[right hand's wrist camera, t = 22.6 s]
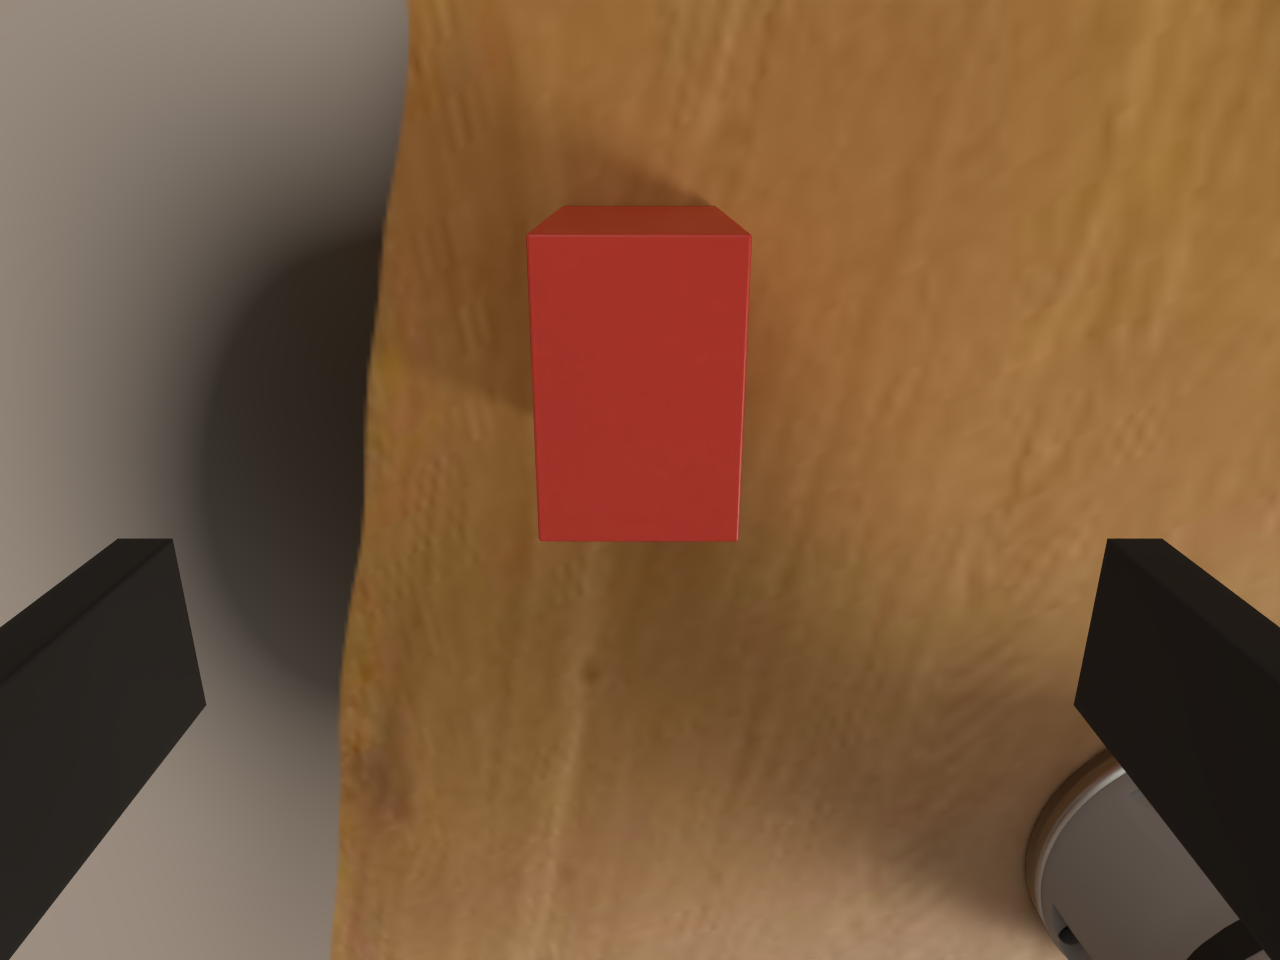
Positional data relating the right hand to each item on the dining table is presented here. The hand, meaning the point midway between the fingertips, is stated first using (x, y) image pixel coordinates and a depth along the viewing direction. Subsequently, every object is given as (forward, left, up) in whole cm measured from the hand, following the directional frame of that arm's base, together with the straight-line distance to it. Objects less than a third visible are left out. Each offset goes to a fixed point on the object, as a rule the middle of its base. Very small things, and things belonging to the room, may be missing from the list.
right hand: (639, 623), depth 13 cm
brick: (0, 0, -24) cm, 24 cm away
